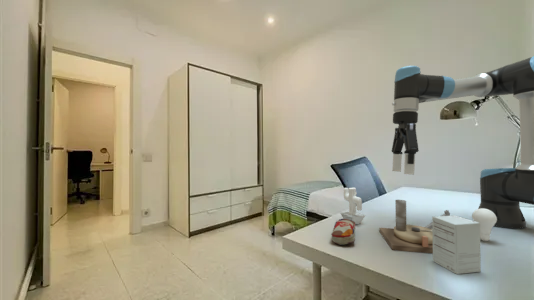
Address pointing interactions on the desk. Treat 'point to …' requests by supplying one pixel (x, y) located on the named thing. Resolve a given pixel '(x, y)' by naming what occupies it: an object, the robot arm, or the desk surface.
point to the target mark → (424, 241)
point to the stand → (403, 242)
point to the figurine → (353, 206)
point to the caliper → (441, 215)
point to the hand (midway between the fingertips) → (402, 172)
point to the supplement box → (456, 244)
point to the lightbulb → (484, 222)
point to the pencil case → (344, 232)
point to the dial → (409, 227)
